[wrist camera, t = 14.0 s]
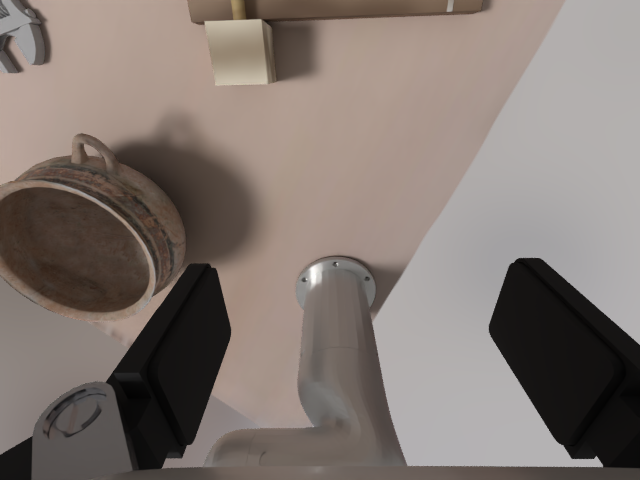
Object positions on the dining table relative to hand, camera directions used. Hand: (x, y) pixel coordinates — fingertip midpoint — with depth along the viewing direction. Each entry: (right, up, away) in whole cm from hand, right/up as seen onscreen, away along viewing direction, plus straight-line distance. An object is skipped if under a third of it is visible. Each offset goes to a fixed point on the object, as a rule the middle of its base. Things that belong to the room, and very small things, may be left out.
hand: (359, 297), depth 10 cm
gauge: (-9, +24, +22) cm, 33 cm away
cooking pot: (-27, +6, +32) cm, 43 cm away
